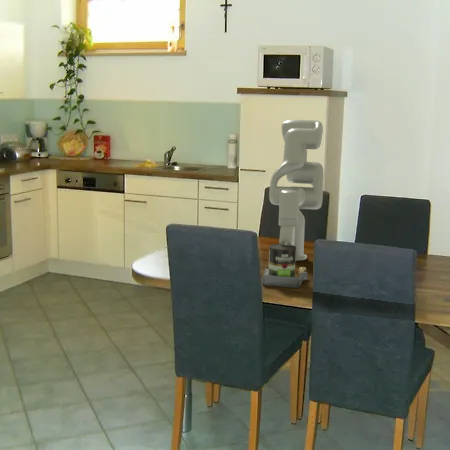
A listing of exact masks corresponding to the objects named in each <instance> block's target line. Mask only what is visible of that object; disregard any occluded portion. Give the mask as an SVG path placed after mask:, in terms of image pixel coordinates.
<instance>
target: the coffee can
mask: <svg viewBox="0 0 450 450" xmlns="http://www.w3.org/2000/svg"><path fill="white" fill-rule="evenodd" d="M268 249H269V252H268V254H269V255H268V256H269V257H268V270H269V275H279V276H292V277H296V274H295V273H296V272H295V270H296V261H295V257H296V247H295V246H293V245H291V246H288V245H279V243H274V244H270V245H269V246H268Z"/></svg>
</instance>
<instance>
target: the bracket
mask: <svg viewBox="0 0 450 450" xmlns="http://www.w3.org/2000/svg"><path fill="white" fill-rule="evenodd" d="M261 280H262V281H261V282H262V283H261V285H262V286H268V287H269V286H270V287H280V288H281V287H282V288H291V289H292V288H294V289H300V287H301V285H302V283H303V282H304V281H307V280H308V271H304V272H303V273H300V274H299V276H295V277H292V276H279V275H269V268H264V274H262V279H261Z"/></svg>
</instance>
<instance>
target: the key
mask: <svg viewBox="0 0 450 450" xmlns="http://www.w3.org/2000/svg"><path fill="white" fill-rule="evenodd" d="M303 272H307V267H305V266H298V274H299V275H300V273H303Z"/></svg>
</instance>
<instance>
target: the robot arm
mask: <svg viewBox="0 0 450 450" xmlns="http://www.w3.org/2000/svg"><path fill="white" fill-rule="evenodd" d="M323 133H324V127H323V123H322V122H321V121H319V120H308V119H307V120H306V119H305V120H304V119H290V120H289V119H288V120H285V121H284V122H282V124H281V134H282V137H283V138H282V139H283V142H284V147H283V149H284V150H283V160H282V164H280V165H279V166H278V167H277V168H276V169H275V171H274V172H273V173H272V175H271V179H270V184H269V191H268V194H269V196H268V200H269V201H270V203H271V205H274V206H278V210H279V211H278V226H279V227H280V231H279V243H278V244H279V245H288V246H291V245H293V246H295V247H296V257H295V262H300V261H301V262H302V261H305V260H307V258H308V256H307V254H306V253H304V250H305V247H304V245H305V224H306V219H305V216H304V214H303V213H302V211H301V210H319V209H321V208H322V205H323V197H324V196H323V194H324V168H323V165H322V164H321V163H320V162H316V161H315V162H314V161H308V150H319V148H320V146H321V145H322V140H323V138H322V137H323V135H324V134H323ZM284 176H286V180H287V182H289V183H291V184H298V185H300V184H302V185H306V184H307V185H312V186H295V185H294V186H284V185H283V186H282V185H281V186H280V185H279V186H278V183H279V181H280V179H281V178H283V177H284Z"/></svg>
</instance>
